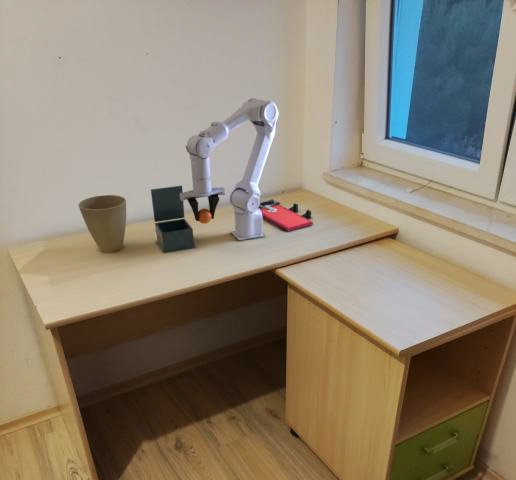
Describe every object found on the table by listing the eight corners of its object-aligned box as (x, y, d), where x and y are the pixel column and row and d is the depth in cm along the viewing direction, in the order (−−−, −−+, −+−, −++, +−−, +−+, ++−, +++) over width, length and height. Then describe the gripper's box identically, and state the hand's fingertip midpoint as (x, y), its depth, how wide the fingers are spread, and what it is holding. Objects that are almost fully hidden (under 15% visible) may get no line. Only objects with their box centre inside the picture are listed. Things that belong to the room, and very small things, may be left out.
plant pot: (139, 240, 176) (132, 195, 167) (123, 258, 164) (115, 210, 155) (99, 238, 178) (90, 193, 169) (80, 255, 166) (70, 208, 157)
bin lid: (182, 186, 167) (181, 185, 168) (151, 190, 164) (150, 189, 165) (184, 217, 174) (183, 216, 175) (154, 222, 171) (154, 221, 172)
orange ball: (209, 219, 168) (208, 205, 166) (214, 224, 165) (213, 210, 162) (195, 221, 167) (194, 207, 164) (200, 226, 163) (198, 212, 161)
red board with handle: (276, 200, 209) (245, 208, 202) (276, 193, 207) (244, 201, 201) (320, 223, 188) (287, 232, 182) (321, 216, 186) (287, 225, 180)
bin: (194, 247, 171) (192, 228, 167) (164, 252, 167) (161, 233, 164) (186, 236, 179) (184, 218, 175) (157, 241, 175) (154, 222, 172)
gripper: (182, 183, 152) (186, 226, 160) (227, 177, 157) (229, 219, 164) (176, 177, 157) (180, 219, 165) (220, 171, 162) (222, 212, 170)
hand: (204, 219), depth 165 cm, fingers closed on orange ball, 4 cm apart
